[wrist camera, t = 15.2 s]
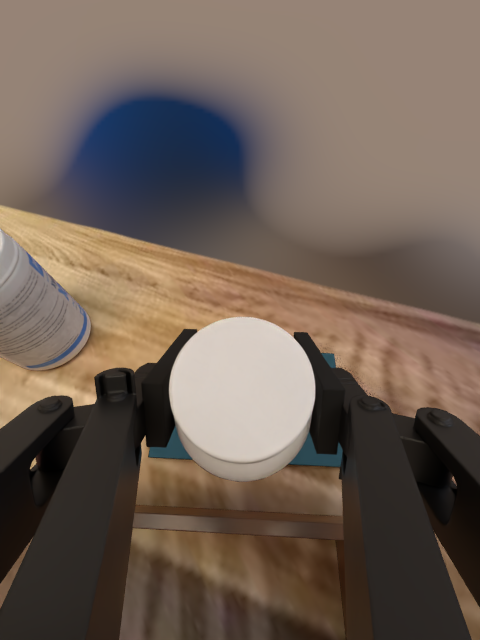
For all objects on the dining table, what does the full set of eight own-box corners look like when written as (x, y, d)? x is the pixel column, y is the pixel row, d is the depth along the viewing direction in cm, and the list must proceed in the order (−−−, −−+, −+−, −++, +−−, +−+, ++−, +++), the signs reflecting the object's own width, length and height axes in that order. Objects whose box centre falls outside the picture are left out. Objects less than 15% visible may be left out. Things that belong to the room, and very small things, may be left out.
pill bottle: (188, 398, 18) (138, 328, 9) (268, 371, 19) (288, 284, 10) (212, 494, 15) (171, 520, 7) (303, 458, 16) (372, 439, 8)
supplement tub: (105, 311, 36) (30, 222, 23) (71, 379, 32) (-45, 315, 19) (40, 301, 37) (-67, 210, 24) (-3, 366, 32) (-162, 296, 20)
